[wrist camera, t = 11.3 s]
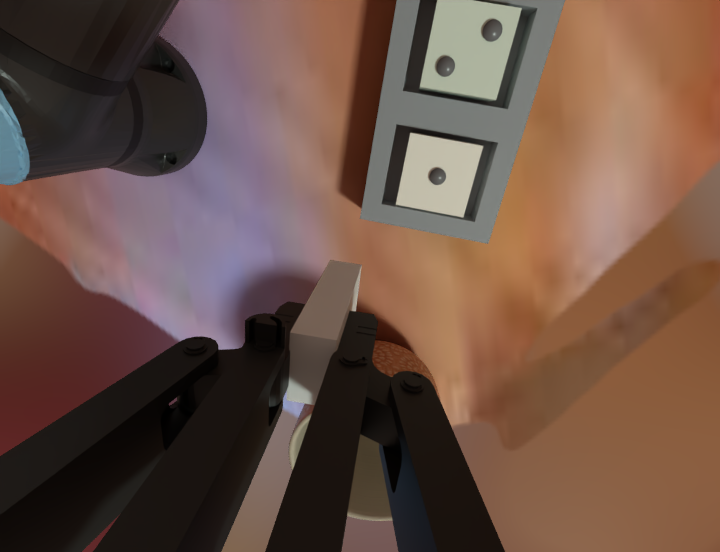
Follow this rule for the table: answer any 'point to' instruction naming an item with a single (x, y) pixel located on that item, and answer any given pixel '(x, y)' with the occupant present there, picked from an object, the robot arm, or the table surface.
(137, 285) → the table surface
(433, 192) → the tile one
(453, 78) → the tile two
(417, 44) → the tile board
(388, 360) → the planter
